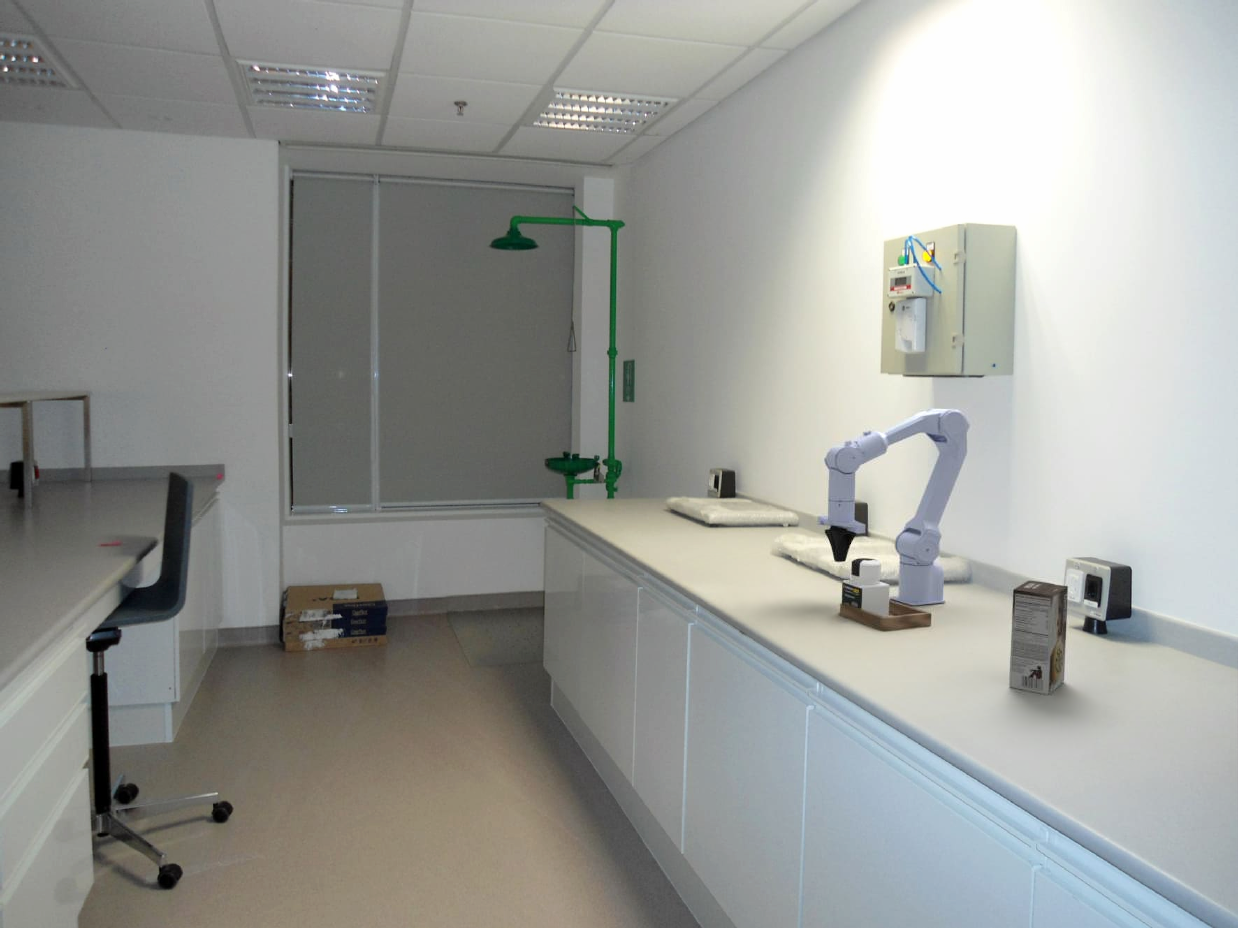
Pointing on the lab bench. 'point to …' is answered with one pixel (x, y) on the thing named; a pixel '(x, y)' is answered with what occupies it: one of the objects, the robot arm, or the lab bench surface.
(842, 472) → the robot arm
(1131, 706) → the lab bench surface
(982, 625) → the lab bench surface
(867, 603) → the medicine bottle
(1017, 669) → the coffee box
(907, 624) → the frame
